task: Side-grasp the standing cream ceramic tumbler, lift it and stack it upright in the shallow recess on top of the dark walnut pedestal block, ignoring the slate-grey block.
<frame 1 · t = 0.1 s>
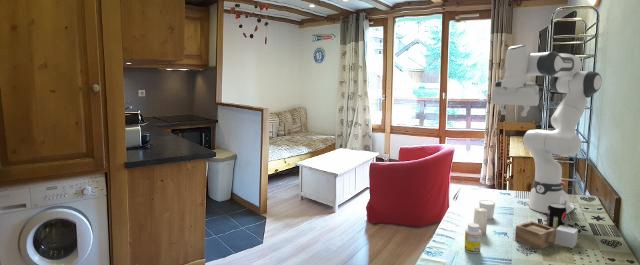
hand: (513, 115, 169), 48 cm above the table, tool pointing down, fingers open, 8 cm apart
supplement bottle: (472, 251, 145), on the table
beverage can: (555, 233, 162), on the table
tumbler: (479, 232, 162), on the table
grey block: (565, 243, 151), on the table
walnut block: (534, 241, 153), on the table
shot glass: (486, 217, 181), on the table
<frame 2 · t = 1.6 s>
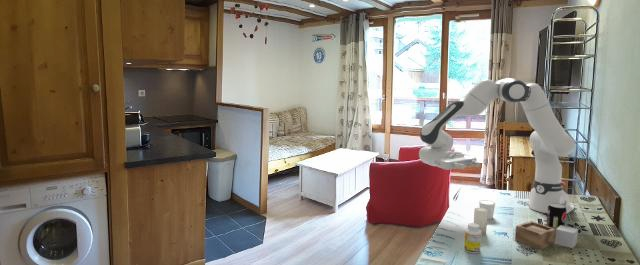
hand: (471, 165, 173), 25 cm above the table, tool horizontal, fingers open, 8 cm apart
nothing on the table moved.
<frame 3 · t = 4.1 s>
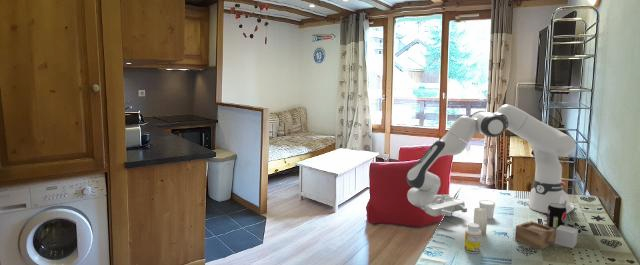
hand: (458, 212, 171), 5 cm above the table, tool horizontal, fingers open, 8 cm apart
nothing on the table moved.
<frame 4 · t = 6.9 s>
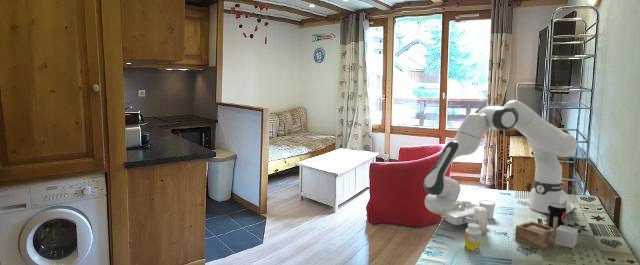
hand: (482, 220, 161), 6 cm above the table, tool horizontal, fingers closed on tumbler, 5 cm apart
tumbler: (479, 232, 162), on the table, touching gripper
everything else where it was.
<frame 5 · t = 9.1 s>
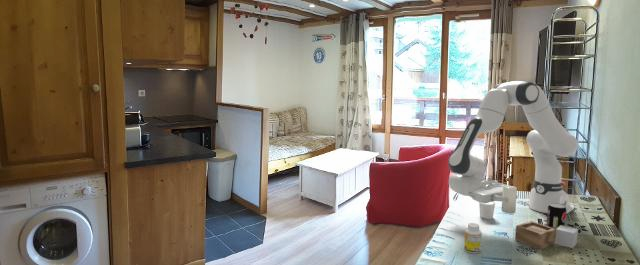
hand: (511, 198, 155), 16 cm above the table, tool horizontal, fingers closed on tumbler, 5 cm apart
tumbler: (508, 211, 156), point 11 cm above the table, touching gripper
everything else where it was.
when the fingers open (11 cm above the table, at t = 11.5 s): tumbler stays where it is, resting on walnut block.
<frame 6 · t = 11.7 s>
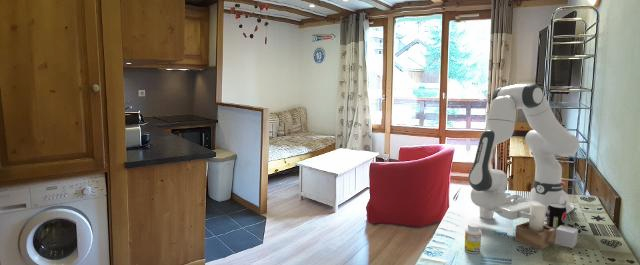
hand: (539, 215, 151), 11 cm above the table, tool horizontal, fingers open, 7 cm apart
tumbler: (535, 229, 152), point 5 cm above the table, touching walnut block
everything else where it was.
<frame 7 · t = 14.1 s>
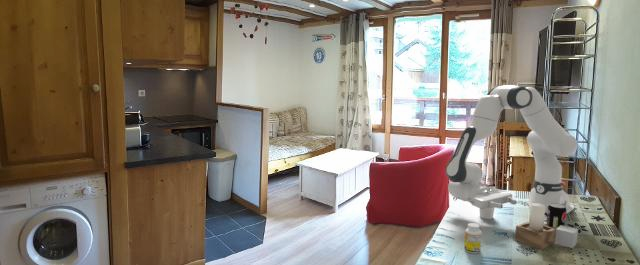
hand: (508, 204, 162), 12 cm above the table, tool horizontal, fingers open, 8 cm apart
nothing on the table moved.
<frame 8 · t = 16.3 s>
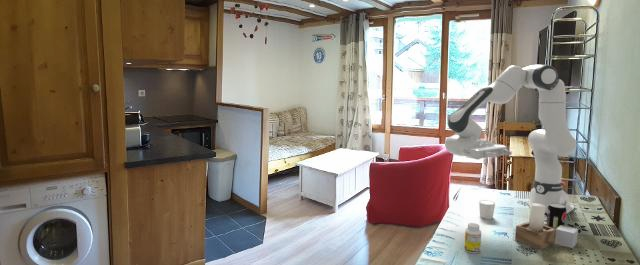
hand: (503, 154, 164), 32 cm above the table, tool horizontal, fingers open, 8 cm apart
nothing on the table moved.
at the end: tumbler 0.0 cm from the walnut block (horizontally); tumbler point 5.0 cm above the table; tumbler tilted 0° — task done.
